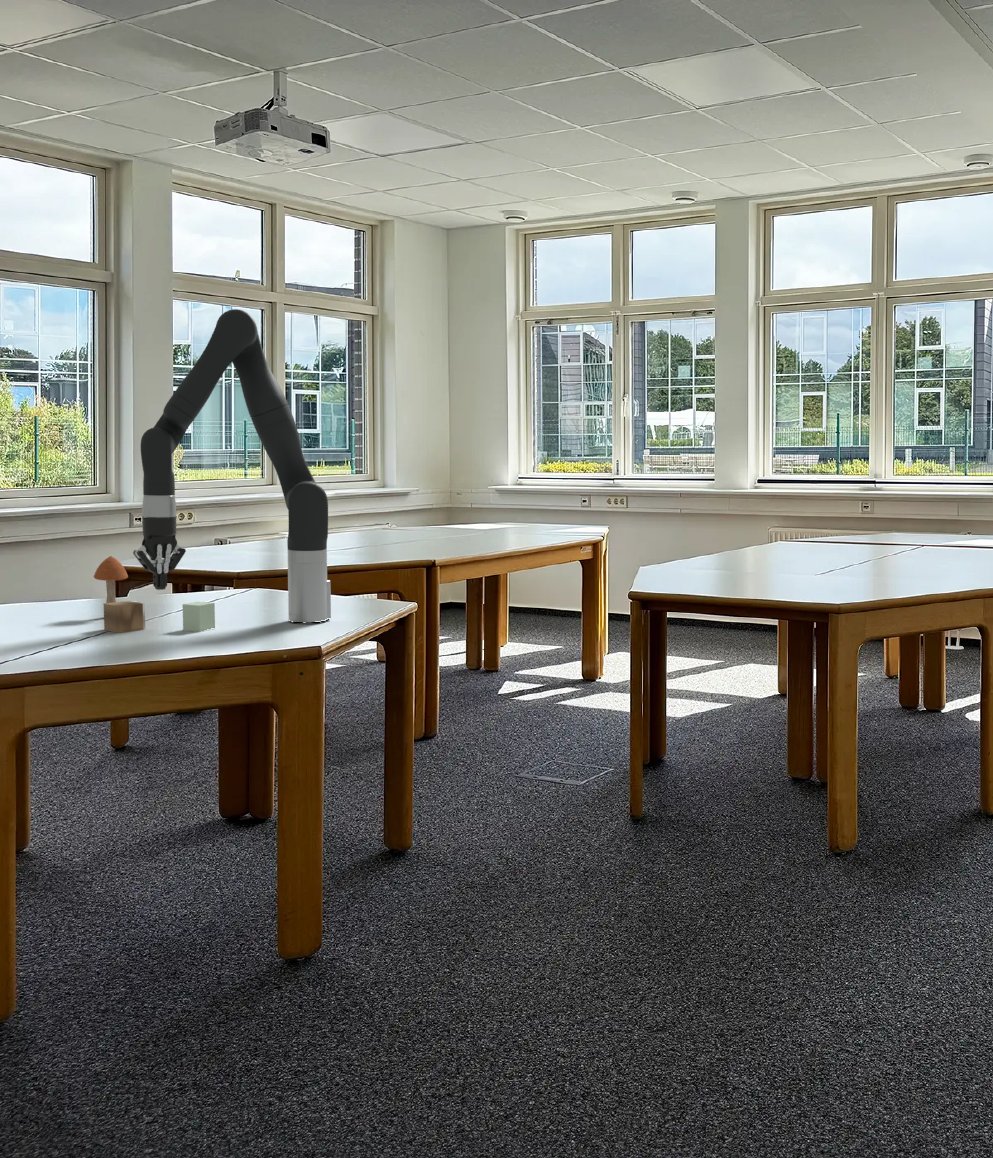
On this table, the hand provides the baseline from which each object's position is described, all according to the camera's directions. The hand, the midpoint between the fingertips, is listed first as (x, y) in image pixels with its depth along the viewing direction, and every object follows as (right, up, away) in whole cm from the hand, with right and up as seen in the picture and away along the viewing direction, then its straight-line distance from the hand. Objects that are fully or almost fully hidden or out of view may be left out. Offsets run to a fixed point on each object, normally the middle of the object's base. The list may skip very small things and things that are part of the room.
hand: (160, 589), depth 275 cm
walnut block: (-4, -6, -4) cm, 8 cm away
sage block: (+10, -9, -5) cm, 15 cm away
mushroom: (-15, -7, +12) cm, 21 cm away
